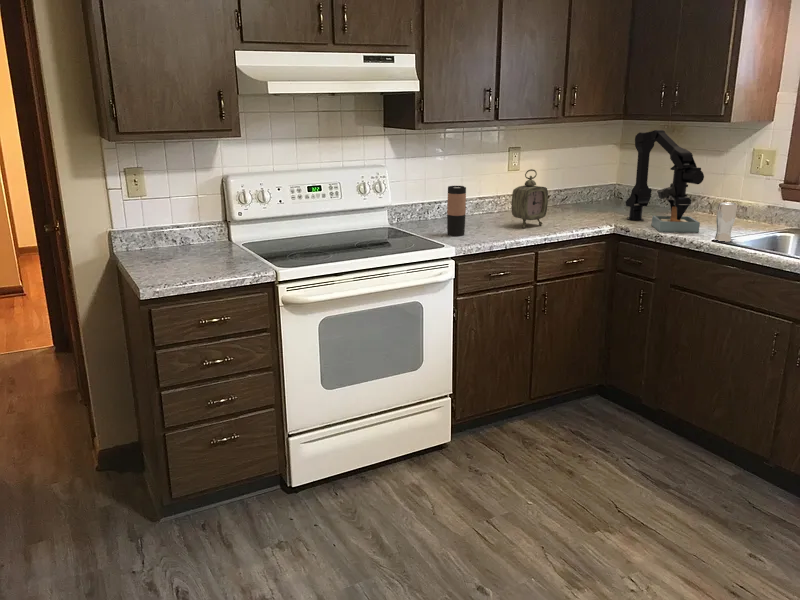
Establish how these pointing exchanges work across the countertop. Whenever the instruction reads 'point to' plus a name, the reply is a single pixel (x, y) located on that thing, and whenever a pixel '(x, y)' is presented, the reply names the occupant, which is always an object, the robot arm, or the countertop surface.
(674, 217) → the peg
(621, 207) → the countertop surface
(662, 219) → the open box
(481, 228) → the countertop surface
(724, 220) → the beer glass
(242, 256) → the countertop surface
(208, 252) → the countertop surface
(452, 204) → the travel mug
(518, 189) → the tabletop clock
